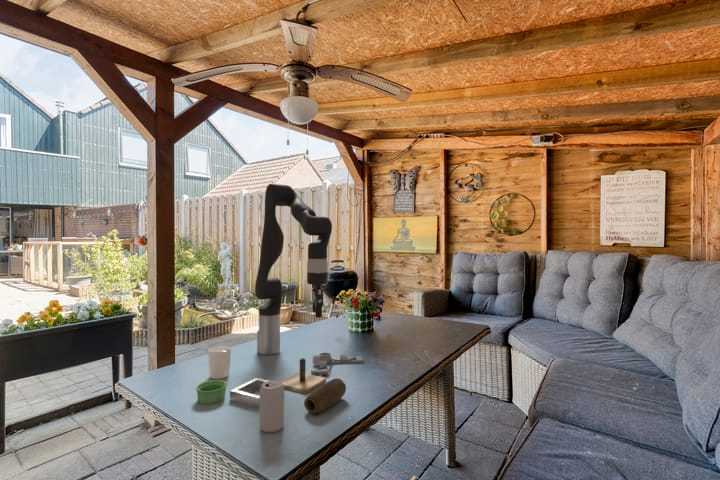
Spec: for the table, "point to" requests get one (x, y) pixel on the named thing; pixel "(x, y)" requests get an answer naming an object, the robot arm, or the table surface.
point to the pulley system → (327, 358)
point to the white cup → (219, 361)
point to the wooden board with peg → (303, 380)
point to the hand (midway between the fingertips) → (317, 314)
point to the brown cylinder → (325, 396)
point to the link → (248, 393)
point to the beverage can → (271, 406)
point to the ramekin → (211, 391)
